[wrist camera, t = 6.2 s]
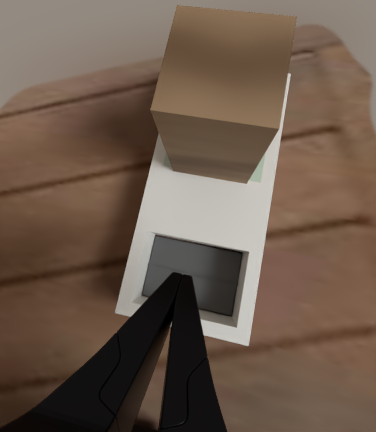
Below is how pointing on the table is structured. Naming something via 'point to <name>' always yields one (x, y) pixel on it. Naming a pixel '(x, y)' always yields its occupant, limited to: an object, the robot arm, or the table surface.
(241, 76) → the walnut block
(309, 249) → the table surface
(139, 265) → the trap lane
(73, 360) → the table surface
